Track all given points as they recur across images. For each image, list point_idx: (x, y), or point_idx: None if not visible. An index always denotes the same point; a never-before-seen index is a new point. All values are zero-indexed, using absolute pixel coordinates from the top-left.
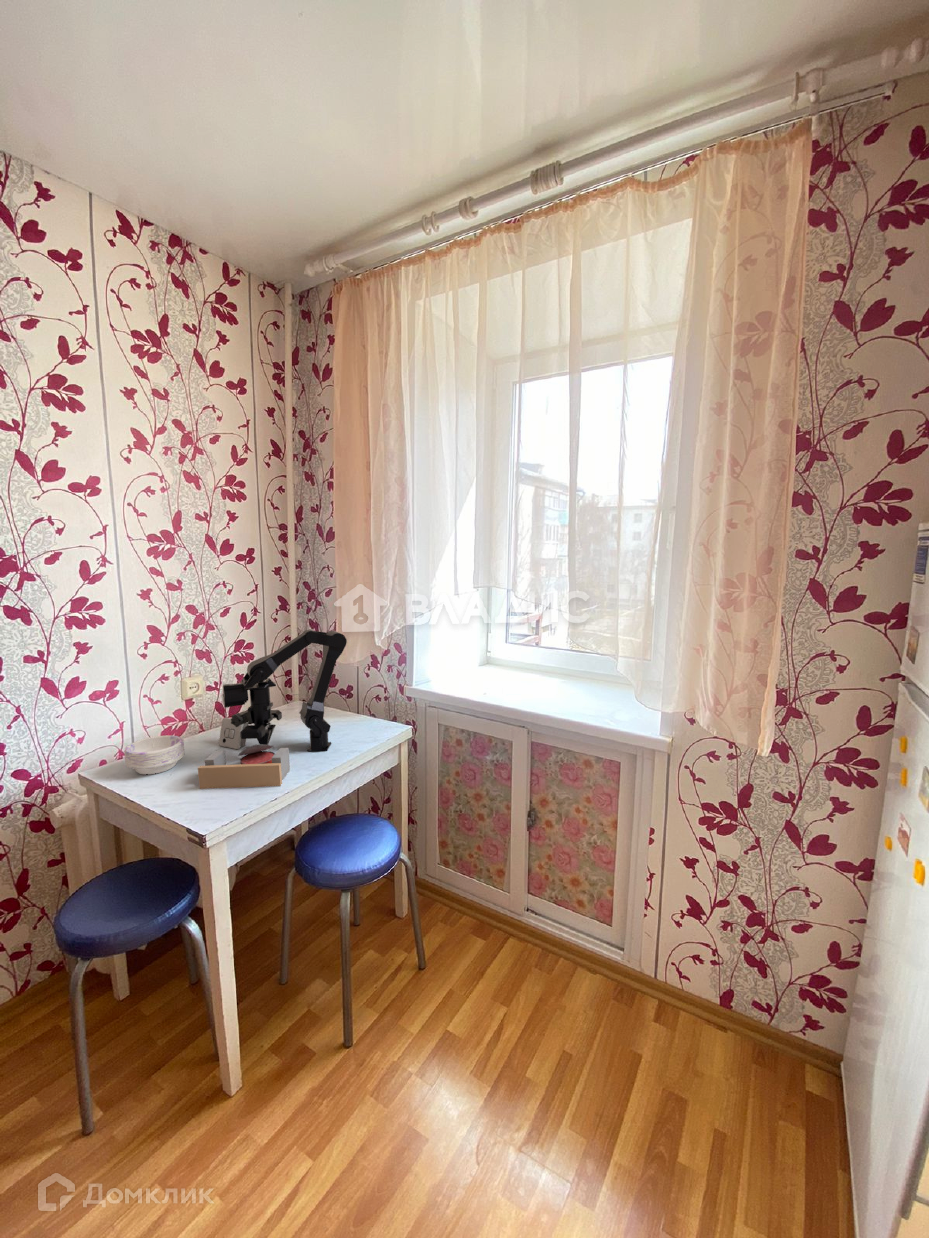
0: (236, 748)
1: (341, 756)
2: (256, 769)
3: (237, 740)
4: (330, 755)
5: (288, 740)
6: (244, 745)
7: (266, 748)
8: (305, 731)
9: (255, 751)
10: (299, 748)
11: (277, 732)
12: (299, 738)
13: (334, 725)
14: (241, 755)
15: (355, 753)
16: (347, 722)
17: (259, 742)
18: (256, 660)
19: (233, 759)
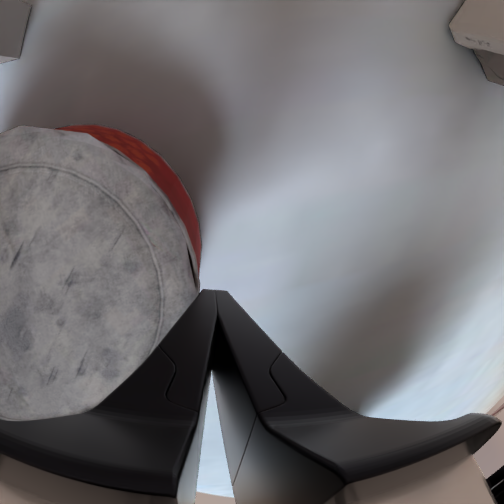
0: (451, 25)
1: (201, 480)
2: None
3: (497, 31)
4: (215, 467)
5: (461, 306)
6: (486, 76)
7: (86, 385)
8: (497, 335)
9: (53, 289)
10: (335, 385)
11: None
12: (453, 342)
13: (477, 393)
14: (25, 141)
15: (220, 491)
16: (472, 410)
17: (163, 346)
18: None
19: (269, 4)
